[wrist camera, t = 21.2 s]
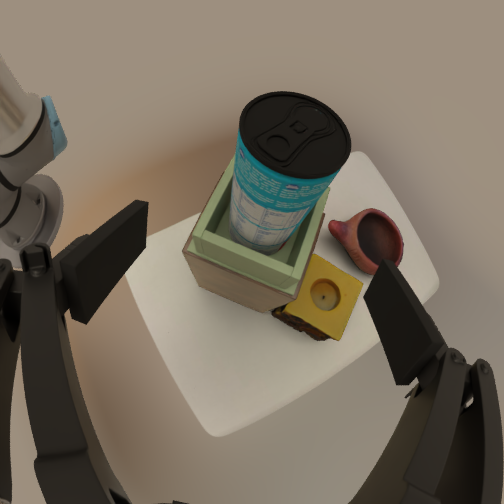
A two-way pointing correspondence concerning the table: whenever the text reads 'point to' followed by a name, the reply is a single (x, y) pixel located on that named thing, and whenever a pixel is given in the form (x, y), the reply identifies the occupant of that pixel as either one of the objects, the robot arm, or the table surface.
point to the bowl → (369, 239)
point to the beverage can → (282, 166)
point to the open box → (247, 260)
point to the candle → (322, 301)
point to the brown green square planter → (240, 279)
